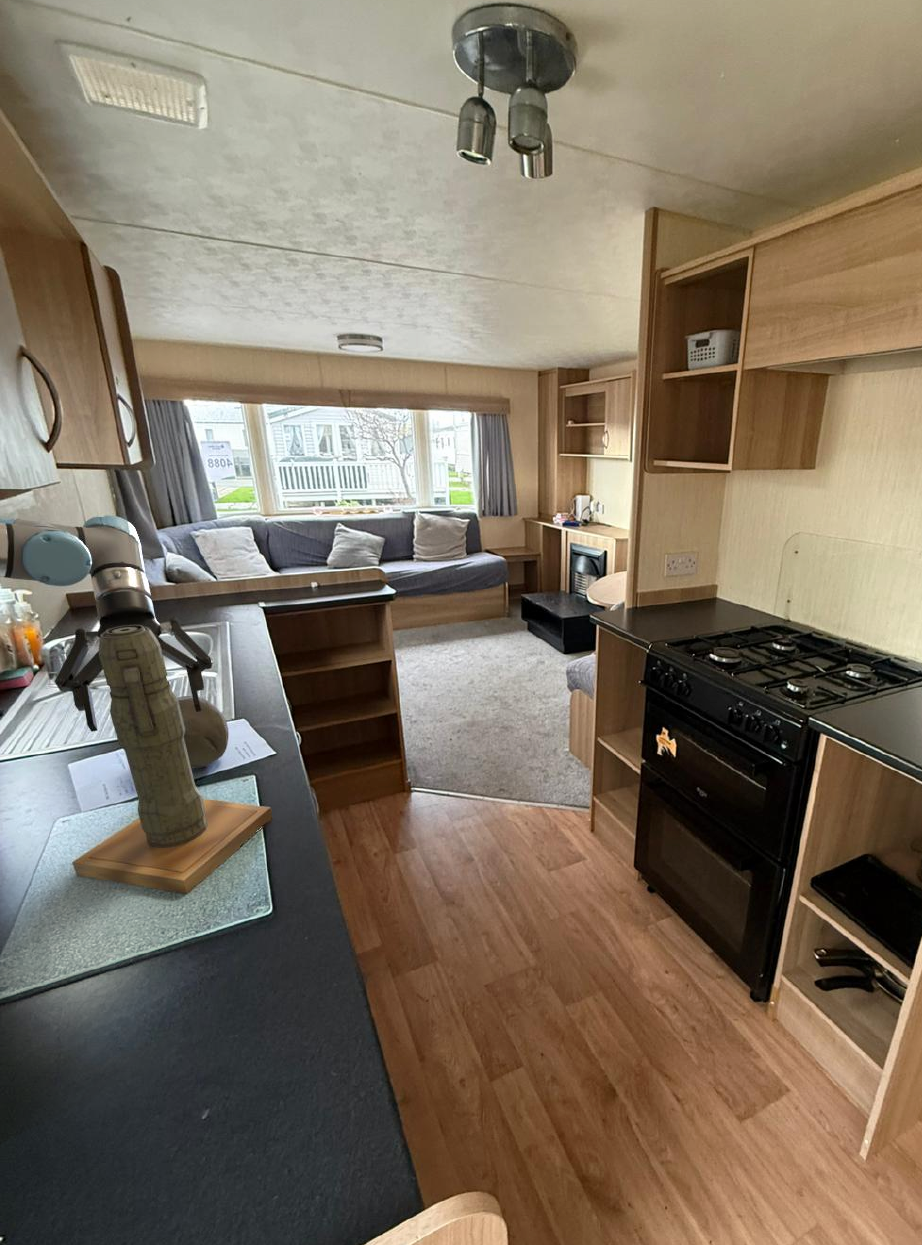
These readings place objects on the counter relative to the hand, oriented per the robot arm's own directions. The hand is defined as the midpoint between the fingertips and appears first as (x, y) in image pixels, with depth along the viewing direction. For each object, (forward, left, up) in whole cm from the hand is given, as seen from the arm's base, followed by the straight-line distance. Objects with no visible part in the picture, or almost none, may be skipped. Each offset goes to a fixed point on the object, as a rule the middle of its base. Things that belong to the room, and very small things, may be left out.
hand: (147, 717), depth 94 cm
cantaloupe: (-18, +24, -24) cm, 38 cm away
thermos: (0, 0, -21) cm, 21 cm away
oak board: (0, 0, -24) cm, 24 cm away
